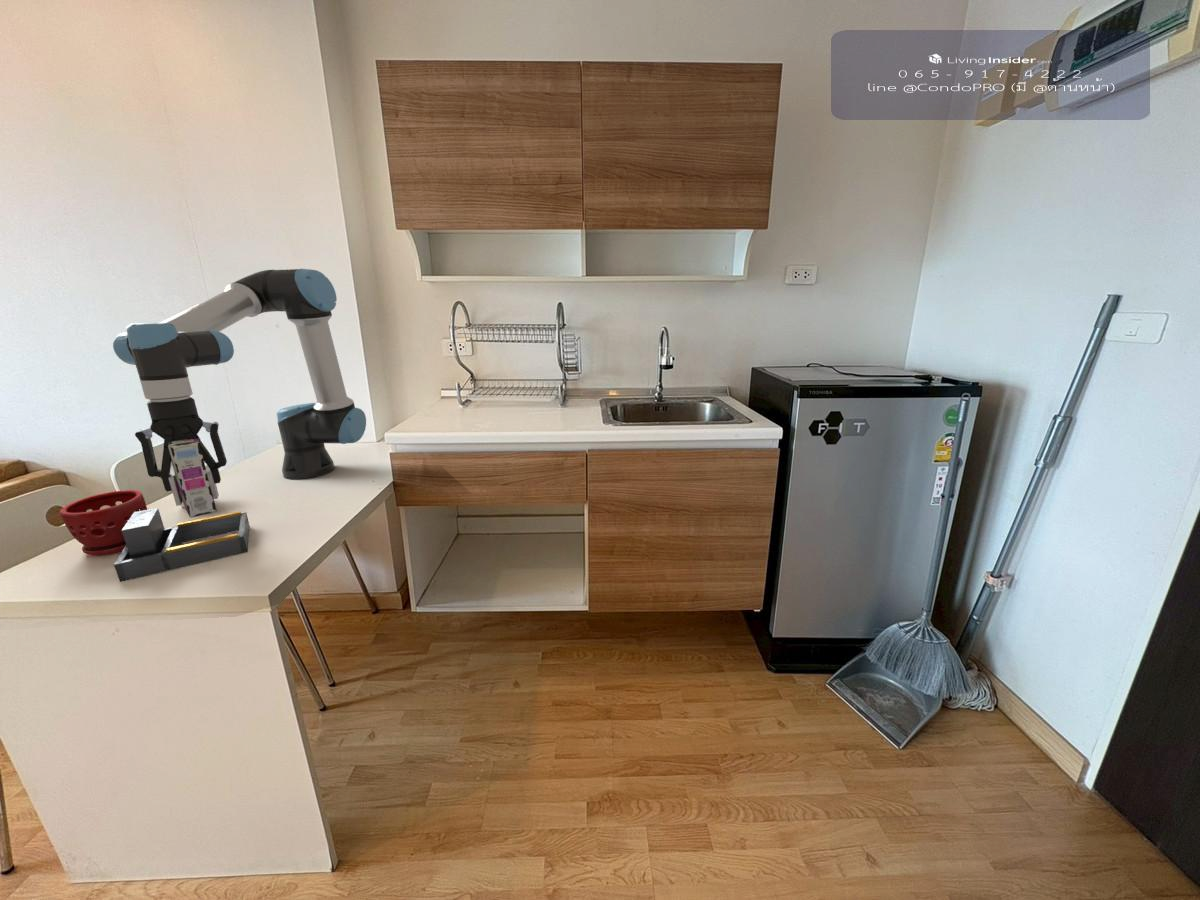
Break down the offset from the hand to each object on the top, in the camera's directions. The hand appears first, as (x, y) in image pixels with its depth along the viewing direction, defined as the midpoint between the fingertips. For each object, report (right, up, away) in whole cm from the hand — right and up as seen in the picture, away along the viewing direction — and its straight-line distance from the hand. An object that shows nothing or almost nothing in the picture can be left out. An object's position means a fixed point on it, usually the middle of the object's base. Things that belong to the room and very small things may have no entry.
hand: (198, 500), depth 104 cm
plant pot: (-22, -12, +4) cm, 25 cm away
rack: (-3, -12, +2) cm, 12 cm away
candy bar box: (0, -2, +1) cm, 2 cm away
